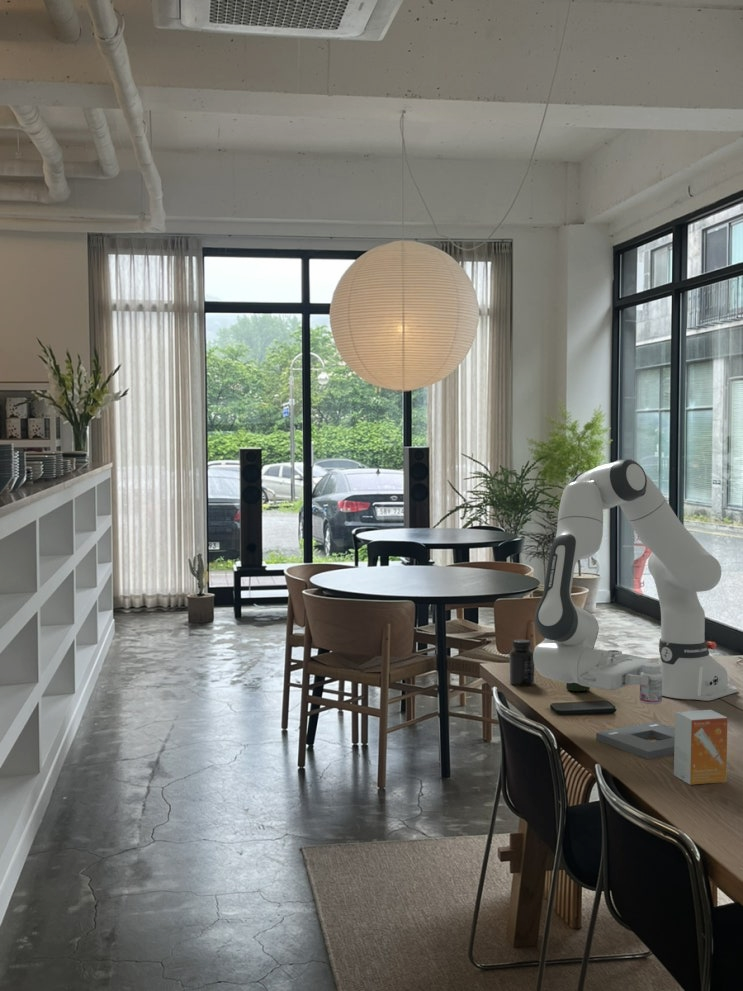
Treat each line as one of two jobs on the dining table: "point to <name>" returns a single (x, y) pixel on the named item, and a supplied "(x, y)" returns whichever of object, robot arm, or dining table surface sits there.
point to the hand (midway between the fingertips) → (655, 678)
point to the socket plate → (641, 739)
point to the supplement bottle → (521, 663)
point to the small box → (700, 746)
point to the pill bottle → (651, 684)
